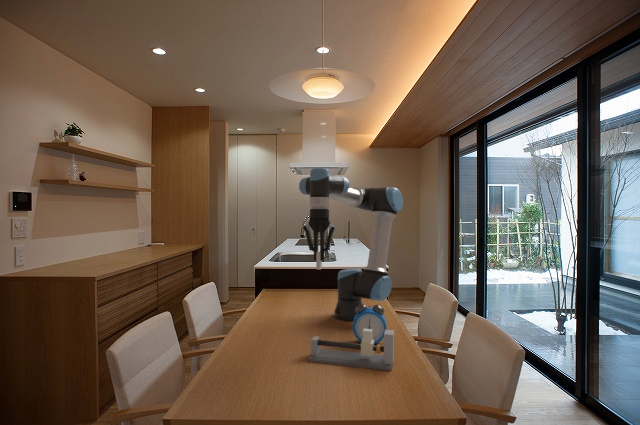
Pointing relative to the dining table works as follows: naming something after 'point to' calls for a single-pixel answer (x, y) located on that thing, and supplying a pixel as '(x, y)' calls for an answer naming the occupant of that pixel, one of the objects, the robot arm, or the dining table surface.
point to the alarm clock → (369, 322)
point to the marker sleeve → (367, 343)
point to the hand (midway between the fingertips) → (319, 268)
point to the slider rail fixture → (354, 353)
